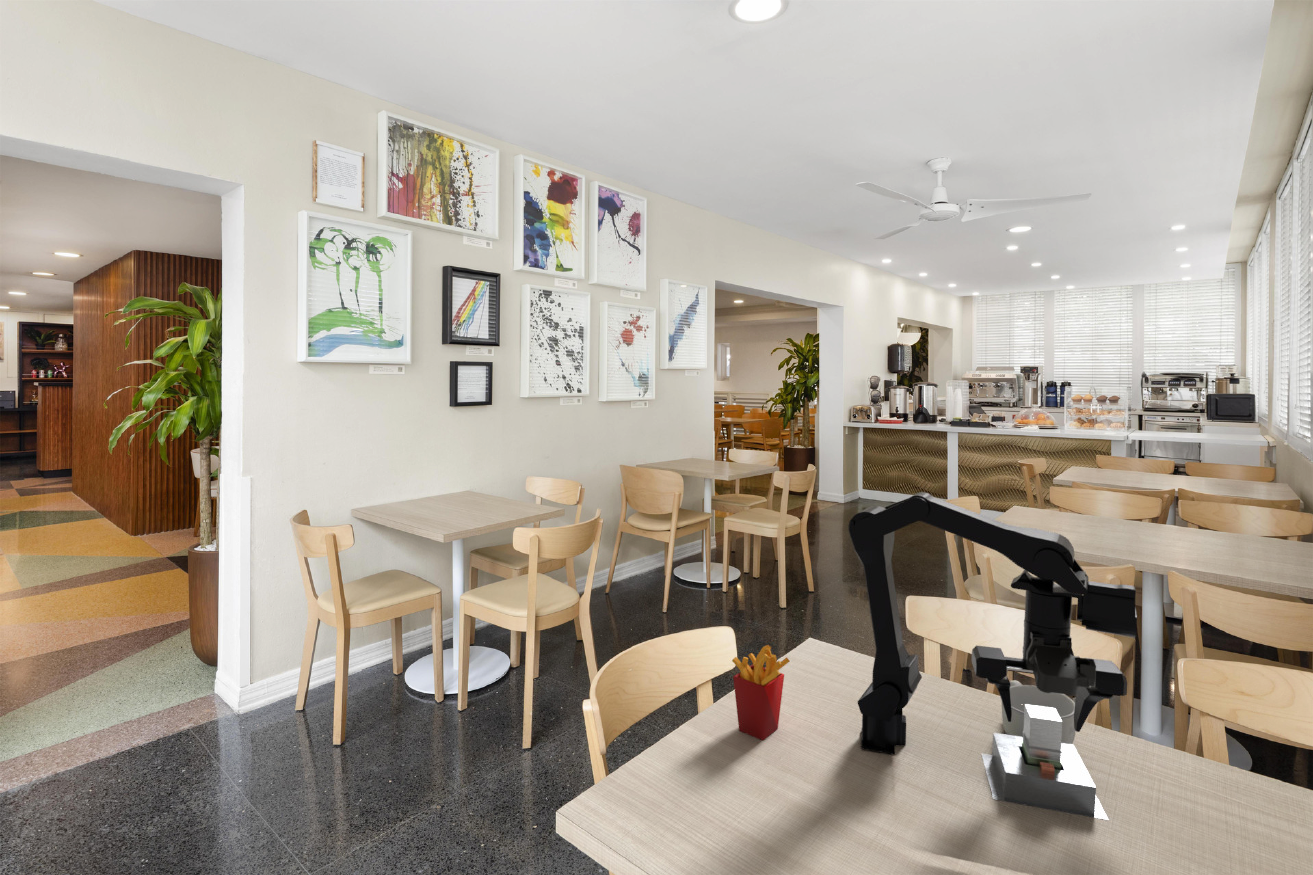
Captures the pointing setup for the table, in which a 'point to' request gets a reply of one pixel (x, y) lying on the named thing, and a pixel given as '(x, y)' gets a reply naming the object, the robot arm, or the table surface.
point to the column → (1042, 735)
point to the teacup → (1038, 698)
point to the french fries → (759, 693)
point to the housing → (1041, 779)
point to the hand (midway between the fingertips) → (1042, 725)
